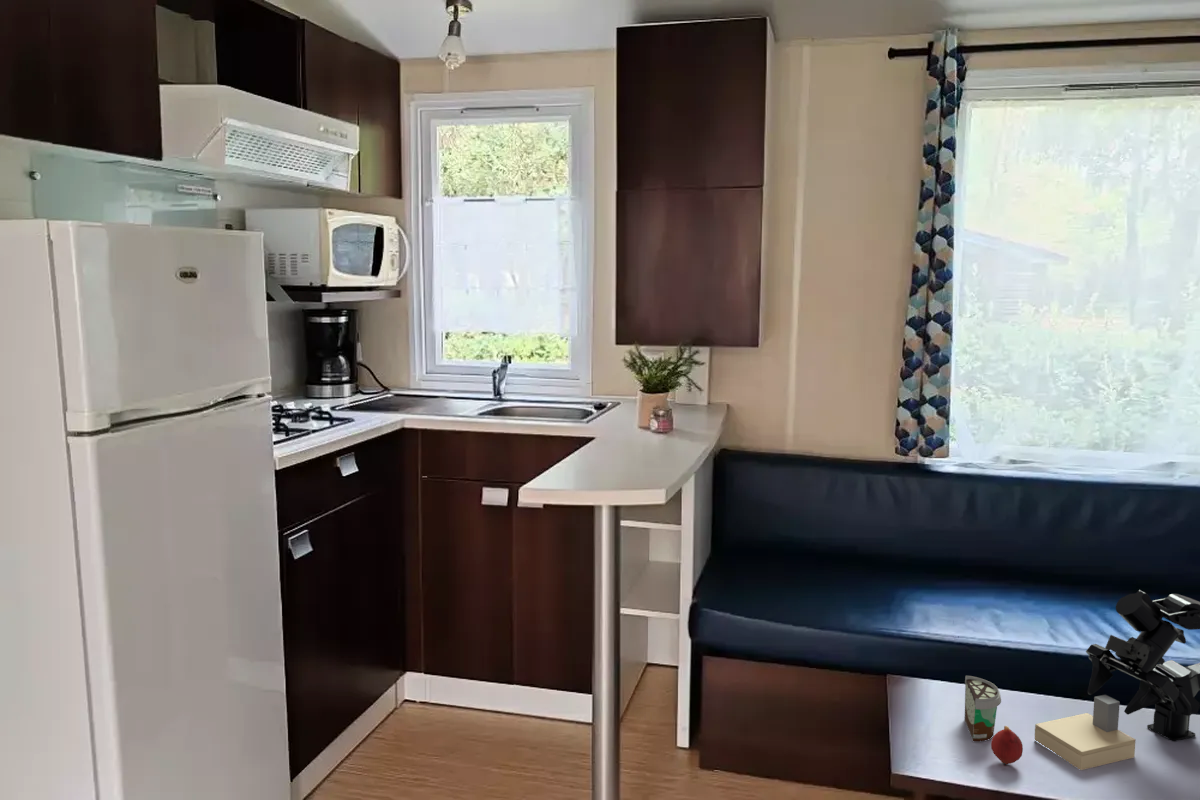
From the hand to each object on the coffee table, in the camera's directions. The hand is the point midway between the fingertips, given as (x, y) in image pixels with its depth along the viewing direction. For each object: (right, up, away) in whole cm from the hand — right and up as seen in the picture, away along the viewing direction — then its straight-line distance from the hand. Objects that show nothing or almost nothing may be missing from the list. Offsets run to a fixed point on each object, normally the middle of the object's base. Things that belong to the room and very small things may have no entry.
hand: (1107, 703), depth 191 cm
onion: (-24, -11, -6) cm, 26 cm away
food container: (-23, -9, +7) cm, 25 cm away
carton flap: (-5, -6, -1) cm, 8 cm away
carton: (-5, -9, -1) cm, 11 cm away
